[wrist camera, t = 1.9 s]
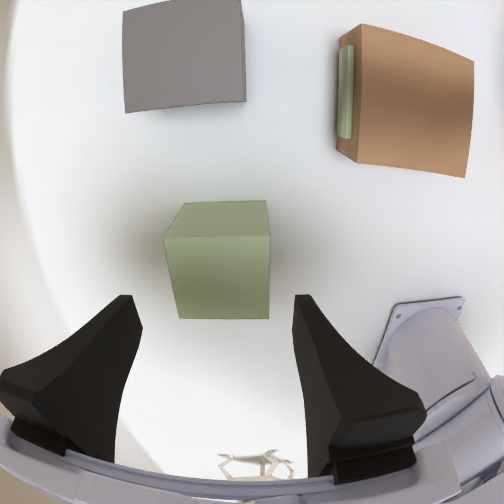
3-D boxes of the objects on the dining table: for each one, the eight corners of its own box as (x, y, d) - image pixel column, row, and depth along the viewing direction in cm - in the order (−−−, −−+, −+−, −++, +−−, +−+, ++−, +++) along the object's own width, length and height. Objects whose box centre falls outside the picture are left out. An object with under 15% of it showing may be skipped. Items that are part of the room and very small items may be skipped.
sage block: (266, 269, 20) (268, 318, 16) (194, 270, 20) (179, 318, 16) (265, 200, 18) (269, 235, 13) (185, 202, 18) (163, 238, 13)
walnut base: (430, 161, 16) (464, 178, 13) (330, 148, 16) (350, 162, 13) (436, 63, 13) (473, 61, 9) (333, 38, 13) (355, 22, 9)
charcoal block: (246, 101, 15) (242, 100, 10) (160, 109, 15) (125, 113, 10) (244, 22, 12) (239, -8, 8) (157, 32, 12) (122, 11, 8)
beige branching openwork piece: (298, 446, 35) (300, 474, 31) (292, 462, 39) (294, 486, 35) (217, 446, 35) (214, 474, 31) (222, 462, 40) (220, 487, 35)
